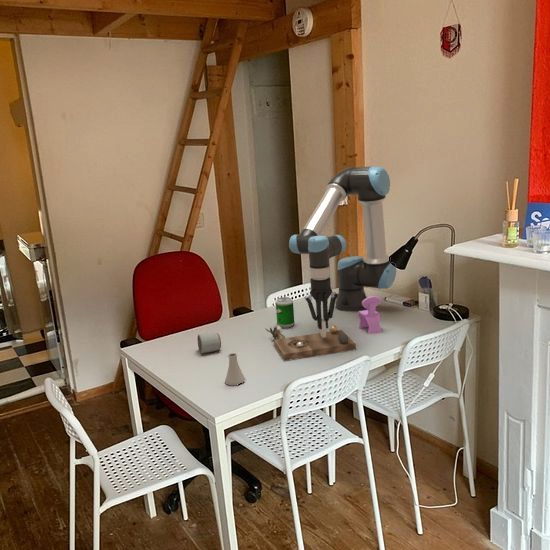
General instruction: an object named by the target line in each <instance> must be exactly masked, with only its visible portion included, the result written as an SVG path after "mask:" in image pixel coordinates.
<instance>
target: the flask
mask: <svg viewBox="0 0 550 550" xmlns="http://www.w3.org/2000/svg"><path fill="white" fill-rule="evenodd" d="M227 357H228V360H229V361H228V367H227V373H226V377H225V379H224V384H226V385H227V384H228V385H231V386H238V385H237V384H240V383H243V382H244V380H245V381H246V377H245V375H244V374H243V372H242V369H241V367H240V365H239V361H238V353H236V352H231V353H228V354H227ZM244 383H245V382H244ZM244 383H243V384H244ZM228 385H227V386H228ZM240 385H241V384H240Z"/></svg>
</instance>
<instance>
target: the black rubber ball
mask: <svg viewBox="0 0 550 550" xmlns="http://www.w3.org/2000/svg"><path fill="white" fill-rule="evenodd" d="M348 337H349V335H348V334H347V333H346V332H344V333H342V334H340V335H339V337H338V339H339V341H340V342H341V343H346V342H347V341H348Z"/></svg>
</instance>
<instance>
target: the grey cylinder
mask: <svg viewBox="0 0 550 550" xmlns="http://www.w3.org/2000/svg"><path fill="white" fill-rule="evenodd" d="M221 340H222V338H221V336H220V334H219V333H218V332H207V333H198V334H197V347H198V351H199V353H200V354H202V355H203V354H208V353H213V352H217V351H219V350H221V348H222V341H221Z"/></svg>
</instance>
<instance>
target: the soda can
mask: <svg viewBox="0 0 550 550" xmlns="http://www.w3.org/2000/svg"><path fill="white" fill-rule="evenodd" d="M294 308H295V307H294V301H293V299H292V298H291V297H287V296H284V297H282V296H281V297H279V298H277V300H275V313H276V314H275V315H276V323H277V324H276V325H277V326H280V327H281V329H287V328H292V327H293V325H295V313H294V312H295V309H294Z"/></svg>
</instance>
